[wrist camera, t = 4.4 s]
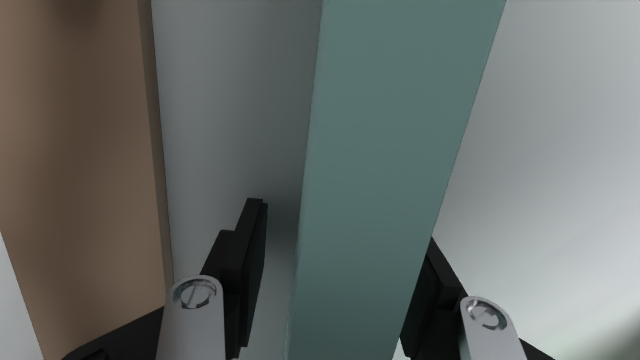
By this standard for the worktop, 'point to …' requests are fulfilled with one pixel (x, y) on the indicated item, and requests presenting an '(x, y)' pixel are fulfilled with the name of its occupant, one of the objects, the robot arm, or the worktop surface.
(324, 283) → the slat
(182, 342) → the robot arm
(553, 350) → the worktop surface
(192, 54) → the worktop surface
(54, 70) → the endcap rail
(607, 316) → the worktop surface
